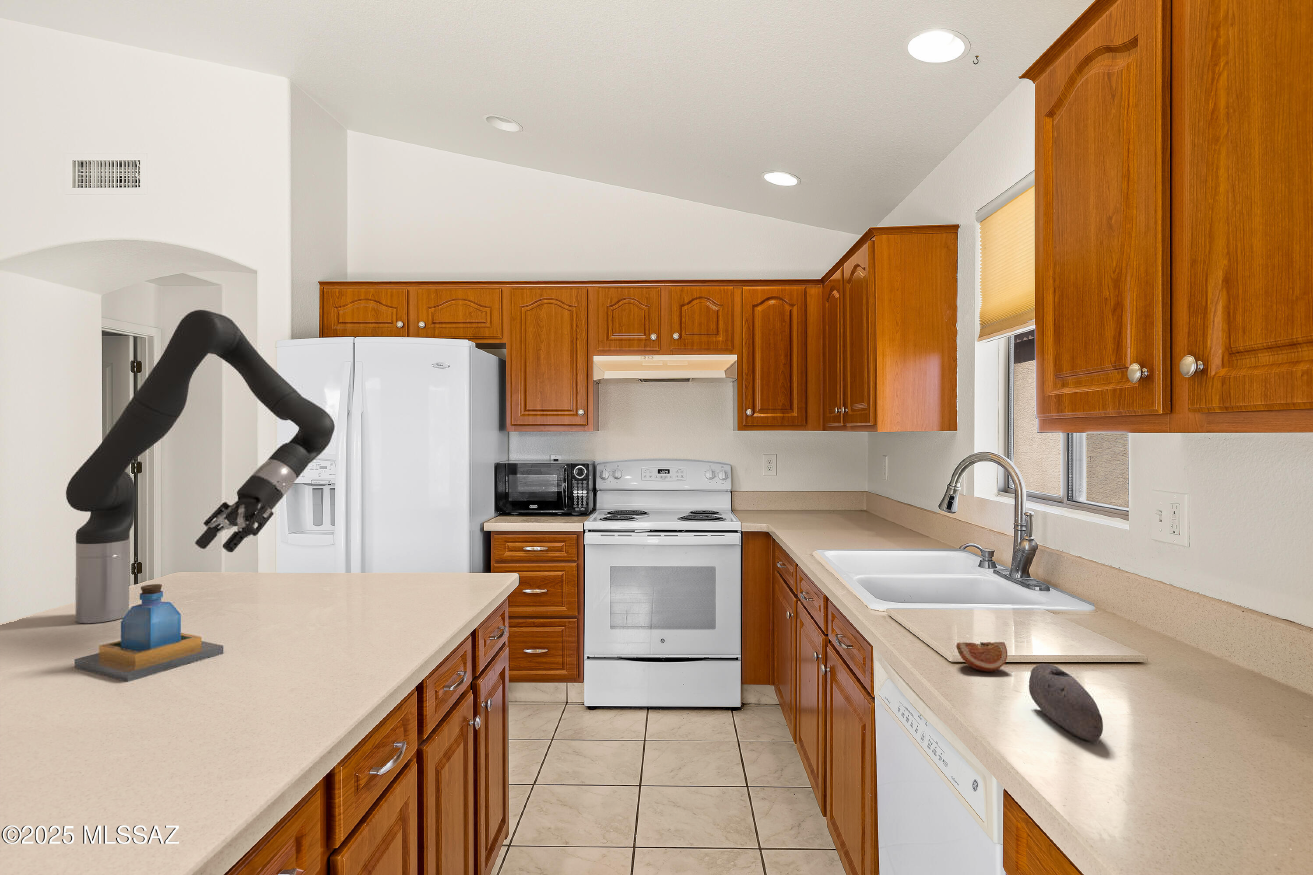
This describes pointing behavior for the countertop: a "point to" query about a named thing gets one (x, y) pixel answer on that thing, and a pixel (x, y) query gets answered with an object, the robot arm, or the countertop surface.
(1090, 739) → the dark grey stone
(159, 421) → the robot arm
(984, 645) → the fruit slice
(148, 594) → the perfume bottle
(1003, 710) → the countertop surface
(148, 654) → the wooden tray
